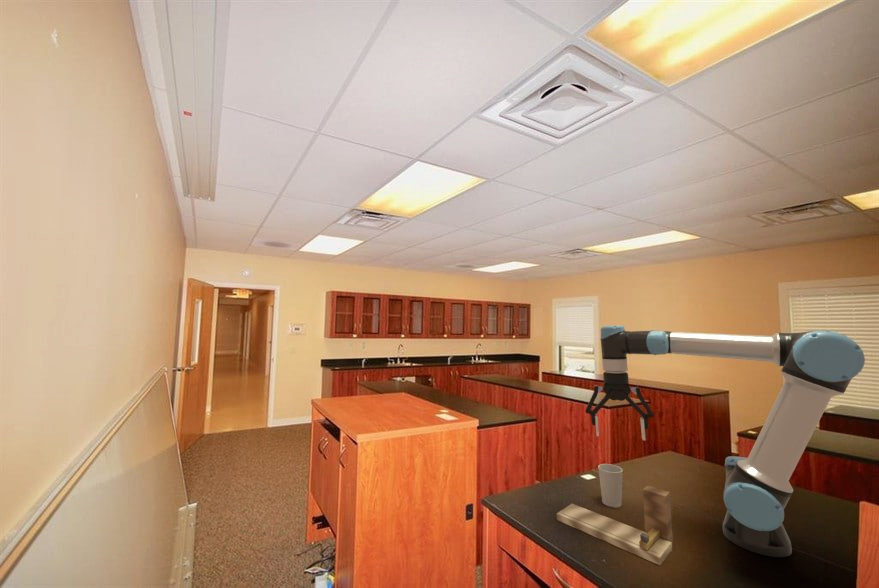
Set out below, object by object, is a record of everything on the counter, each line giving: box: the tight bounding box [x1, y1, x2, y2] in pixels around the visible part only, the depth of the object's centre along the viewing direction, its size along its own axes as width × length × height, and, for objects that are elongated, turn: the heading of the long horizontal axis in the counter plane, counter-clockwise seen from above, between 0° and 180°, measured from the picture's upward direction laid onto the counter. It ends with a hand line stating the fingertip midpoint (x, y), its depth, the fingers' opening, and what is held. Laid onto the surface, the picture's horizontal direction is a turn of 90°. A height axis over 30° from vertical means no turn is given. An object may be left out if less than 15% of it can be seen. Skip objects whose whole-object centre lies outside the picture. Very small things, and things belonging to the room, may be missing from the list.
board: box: [556, 503, 673, 566], centre depth 109 cm, size 30×10×2 cm, turn 41°
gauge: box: [639, 485, 674, 551], centre depth 103 cm, size 6×14×14 cm, turn 132°
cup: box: [597, 463, 624, 508], centre depth 128 cm, size 8×8×12 cm
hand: (620, 437), depth 118 cm, fingers open, 13 cm apart
